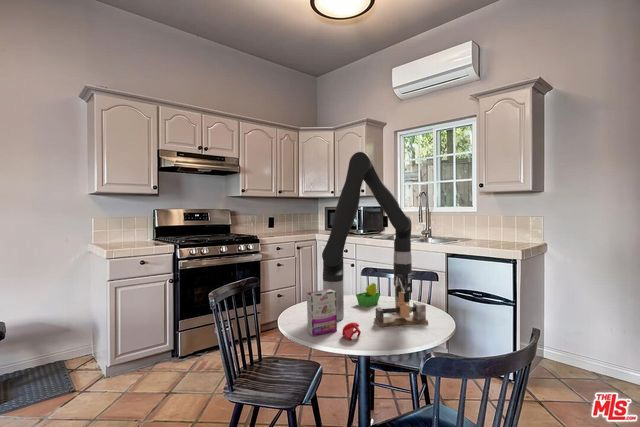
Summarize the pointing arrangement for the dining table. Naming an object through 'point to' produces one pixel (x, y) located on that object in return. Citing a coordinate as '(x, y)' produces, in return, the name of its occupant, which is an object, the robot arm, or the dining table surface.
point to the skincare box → (398, 297)
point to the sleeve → (403, 307)
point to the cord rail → (395, 321)
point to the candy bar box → (321, 312)
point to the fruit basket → (368, 296)
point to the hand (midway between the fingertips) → (402, 299)
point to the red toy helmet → (350, 330)
